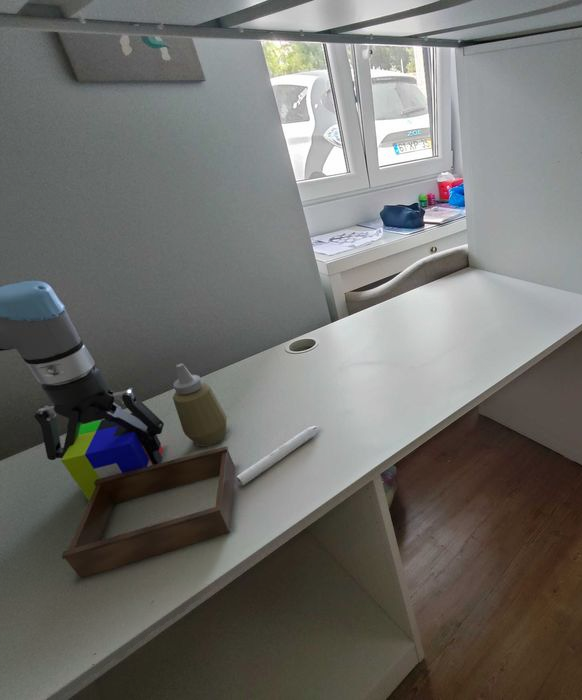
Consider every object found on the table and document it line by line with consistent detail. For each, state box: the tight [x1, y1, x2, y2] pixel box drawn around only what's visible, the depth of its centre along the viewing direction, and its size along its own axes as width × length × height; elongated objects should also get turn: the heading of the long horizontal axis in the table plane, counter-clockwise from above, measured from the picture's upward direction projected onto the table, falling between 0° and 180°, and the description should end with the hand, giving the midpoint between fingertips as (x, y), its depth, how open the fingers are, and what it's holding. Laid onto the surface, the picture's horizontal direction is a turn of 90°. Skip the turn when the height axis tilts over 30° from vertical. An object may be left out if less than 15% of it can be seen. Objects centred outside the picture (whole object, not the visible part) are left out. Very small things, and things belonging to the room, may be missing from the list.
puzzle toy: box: [61, 412, 163, 501], centre depth 82 cm, size 10×10×10 cm
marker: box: [235, 425, 320, 486], centre depth 87 cm, size 18×2×2 cm, turn 145°
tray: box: [60, 445, 236, 579], centre depth 74 cm, size 21×16×6 cm
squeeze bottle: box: [172, 363, 228, 447], centre depth 88 cm, size 8×8×18 cm
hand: (126, 470), depth 84 cm, fingers closed on puzzle toy, 10 cm apart
